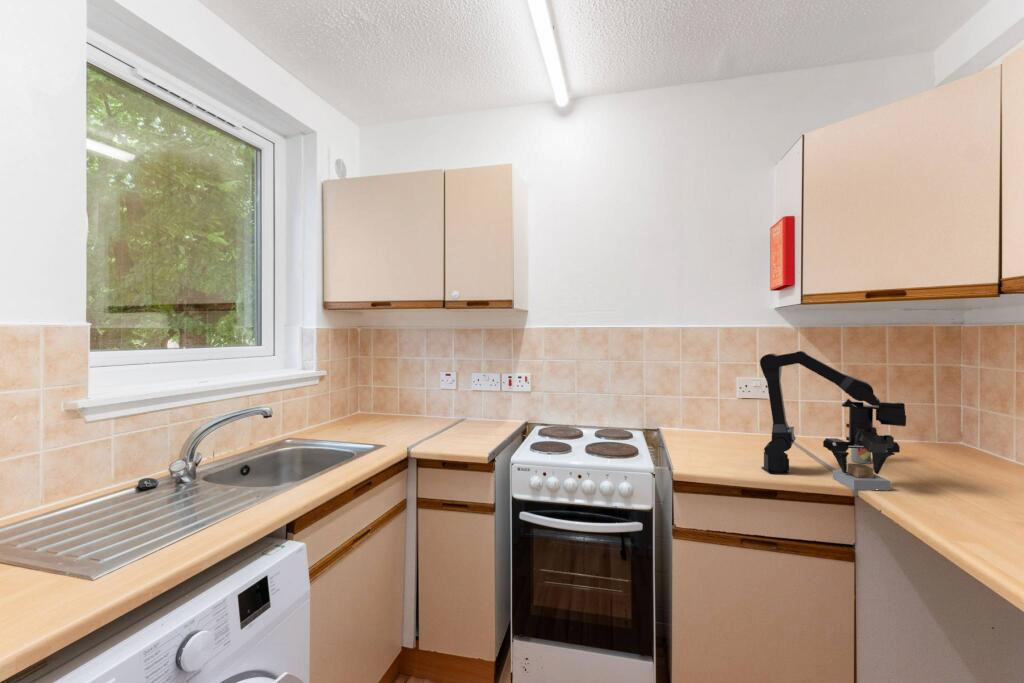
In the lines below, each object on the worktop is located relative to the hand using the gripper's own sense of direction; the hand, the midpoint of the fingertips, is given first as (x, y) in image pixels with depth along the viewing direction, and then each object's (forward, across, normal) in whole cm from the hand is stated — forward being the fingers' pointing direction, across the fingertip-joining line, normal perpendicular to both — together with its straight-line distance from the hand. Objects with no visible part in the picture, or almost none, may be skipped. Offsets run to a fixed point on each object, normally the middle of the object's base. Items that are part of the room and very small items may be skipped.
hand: (860, 473), depth 136 cm
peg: (+4, 0, 0) cm, 4 cm away
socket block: (+4, 0, 0) cm, 4 cm away
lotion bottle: (+4, +17, +26) cm, 31 cm away
